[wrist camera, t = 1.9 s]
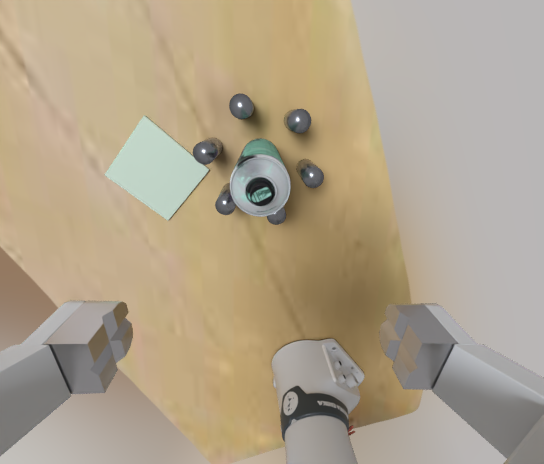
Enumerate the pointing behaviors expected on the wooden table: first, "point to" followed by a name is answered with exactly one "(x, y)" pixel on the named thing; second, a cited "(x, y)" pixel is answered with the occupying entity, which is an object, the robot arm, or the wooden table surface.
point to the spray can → (260, 179)
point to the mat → (156, 169)
